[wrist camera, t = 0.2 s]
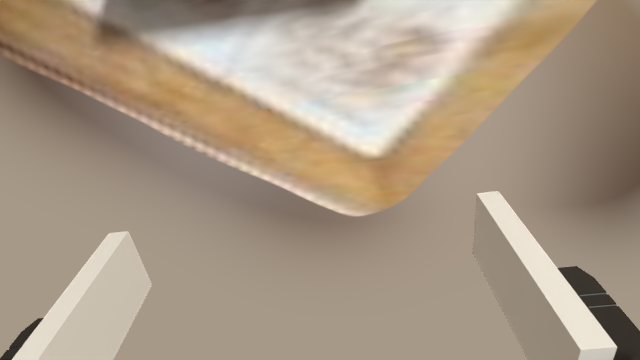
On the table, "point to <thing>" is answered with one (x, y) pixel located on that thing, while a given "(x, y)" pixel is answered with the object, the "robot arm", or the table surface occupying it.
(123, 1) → the table surface
